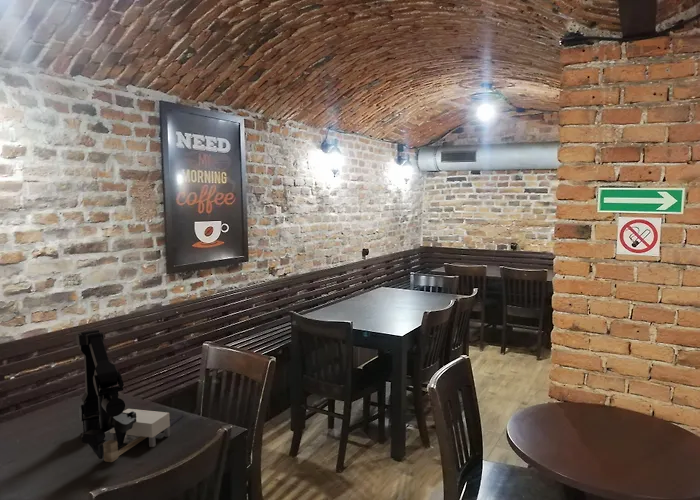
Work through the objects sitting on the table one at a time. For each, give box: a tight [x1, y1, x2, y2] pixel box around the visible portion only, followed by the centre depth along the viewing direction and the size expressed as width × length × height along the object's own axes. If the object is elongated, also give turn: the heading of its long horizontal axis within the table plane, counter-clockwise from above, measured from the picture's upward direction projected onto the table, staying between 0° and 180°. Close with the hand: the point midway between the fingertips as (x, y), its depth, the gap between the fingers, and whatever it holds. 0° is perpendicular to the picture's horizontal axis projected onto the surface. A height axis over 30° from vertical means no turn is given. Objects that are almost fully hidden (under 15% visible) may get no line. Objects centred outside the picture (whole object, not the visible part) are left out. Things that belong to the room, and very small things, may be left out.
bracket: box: [162, 413, 184, 433], centre depth 199 cm, size 14×15×3 cm
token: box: [123, 435, 140, 445], centre depth 184 cm, size 6×6×1 cm
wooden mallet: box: [103, 436, 148, 463], centre depth 179 cm, size 10×21×6 cm, turn 164°
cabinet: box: [109, 408, 171, 448], centre depth 185 cm, size 18×10×8 cm, turn 74°
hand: (111, 452), depth 169 cm, fingers open, 9 cm apart
